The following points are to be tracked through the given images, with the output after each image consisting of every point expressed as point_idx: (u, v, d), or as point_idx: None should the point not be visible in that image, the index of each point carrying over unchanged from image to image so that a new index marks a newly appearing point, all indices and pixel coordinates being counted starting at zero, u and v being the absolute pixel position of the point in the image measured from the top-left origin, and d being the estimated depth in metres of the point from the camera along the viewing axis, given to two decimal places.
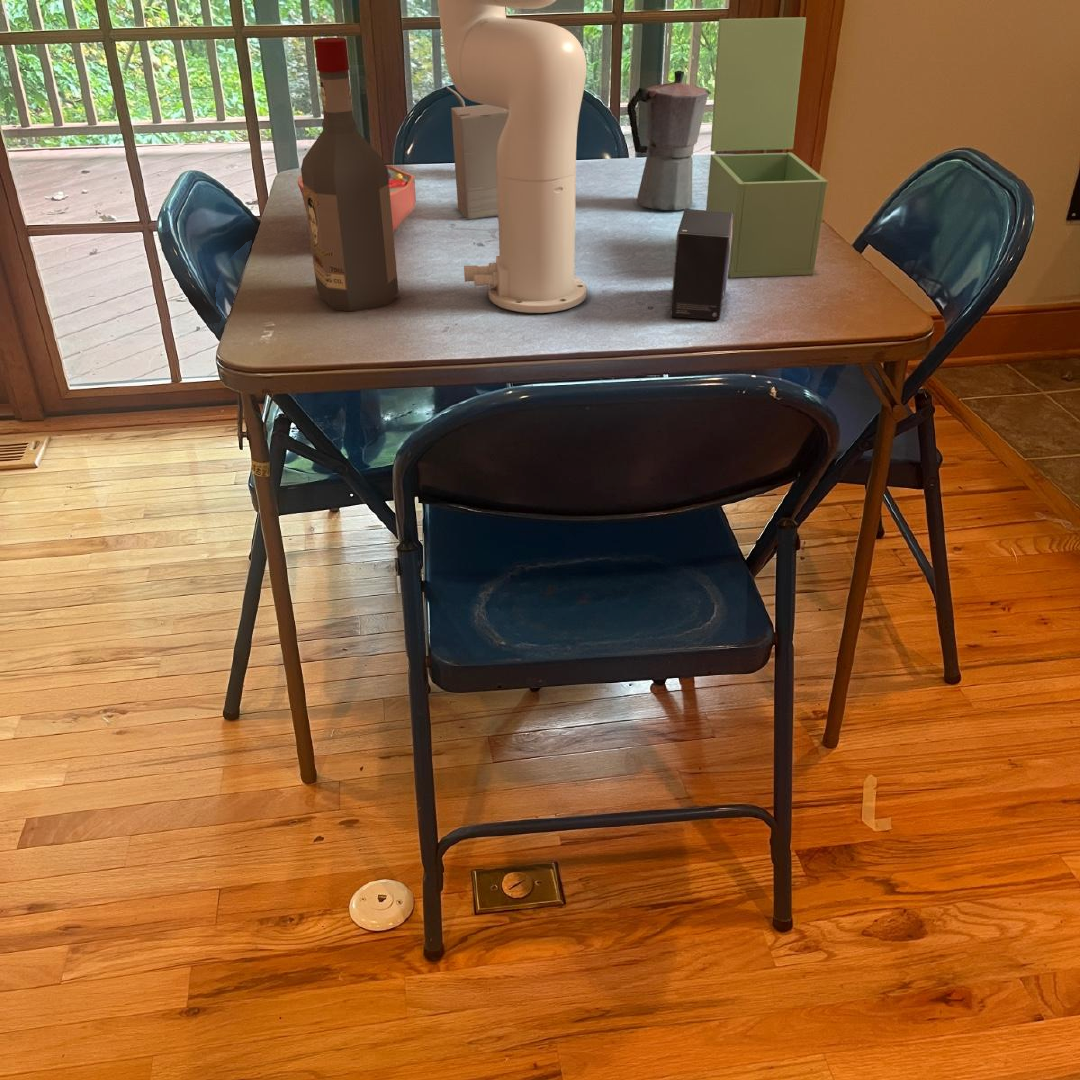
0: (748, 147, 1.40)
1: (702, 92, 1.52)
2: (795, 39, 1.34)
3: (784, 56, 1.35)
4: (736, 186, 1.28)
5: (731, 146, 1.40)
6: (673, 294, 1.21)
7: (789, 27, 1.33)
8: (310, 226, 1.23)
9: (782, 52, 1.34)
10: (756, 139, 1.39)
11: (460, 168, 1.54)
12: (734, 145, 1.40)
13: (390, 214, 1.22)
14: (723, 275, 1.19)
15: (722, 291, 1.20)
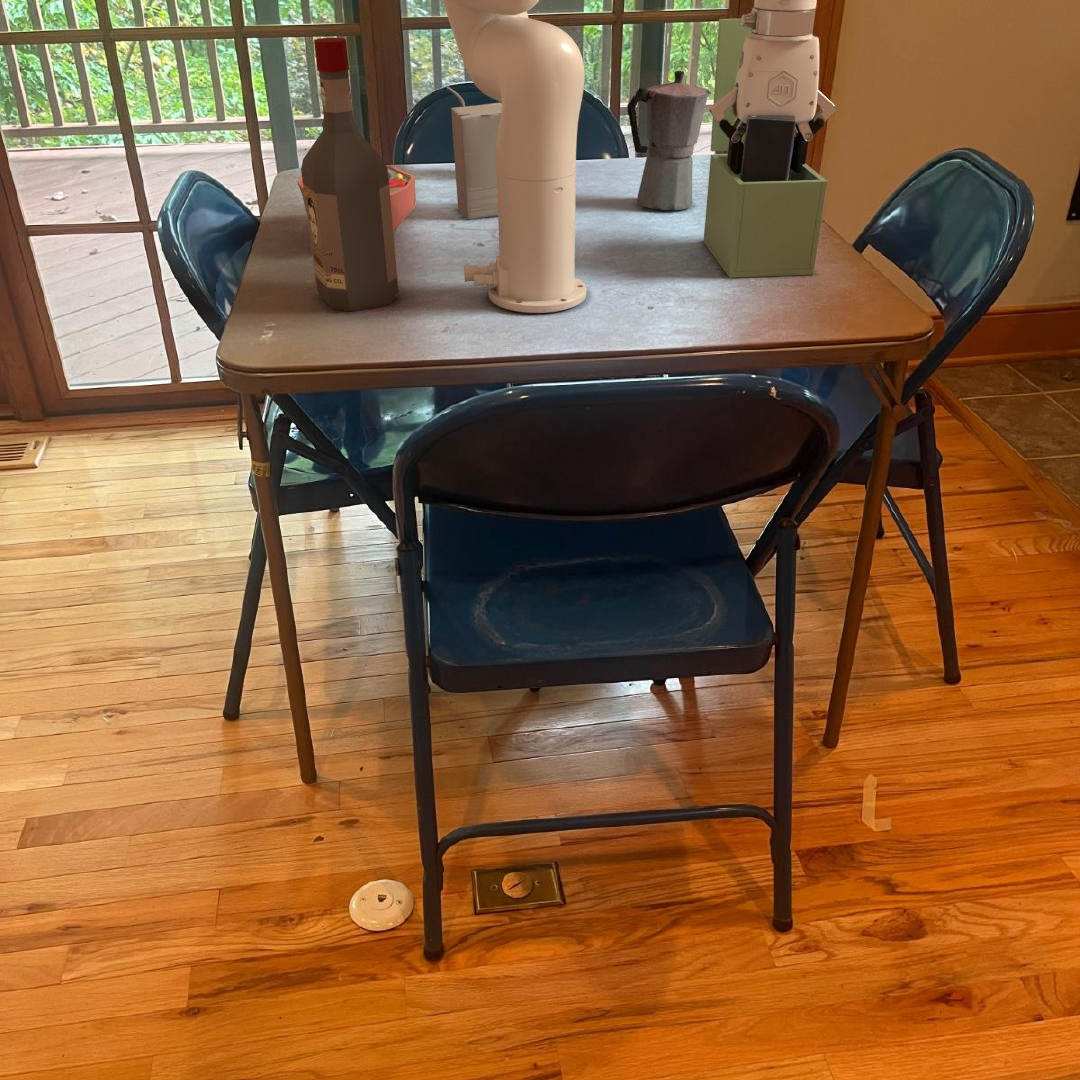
0: None
1: (702, 92, 1.52)
2: None
3: None
4: (736, 186, 1.28)
5: None
6: (741, 178, 1.31)
7: None
8: (310, 226, 1.23)
9: None
10: None
11: (460, 168, 1.54)
12: None
13: (390, 214, 1.22)
14: (788, 159, 1.28)
15: (787, 174, 1.30)
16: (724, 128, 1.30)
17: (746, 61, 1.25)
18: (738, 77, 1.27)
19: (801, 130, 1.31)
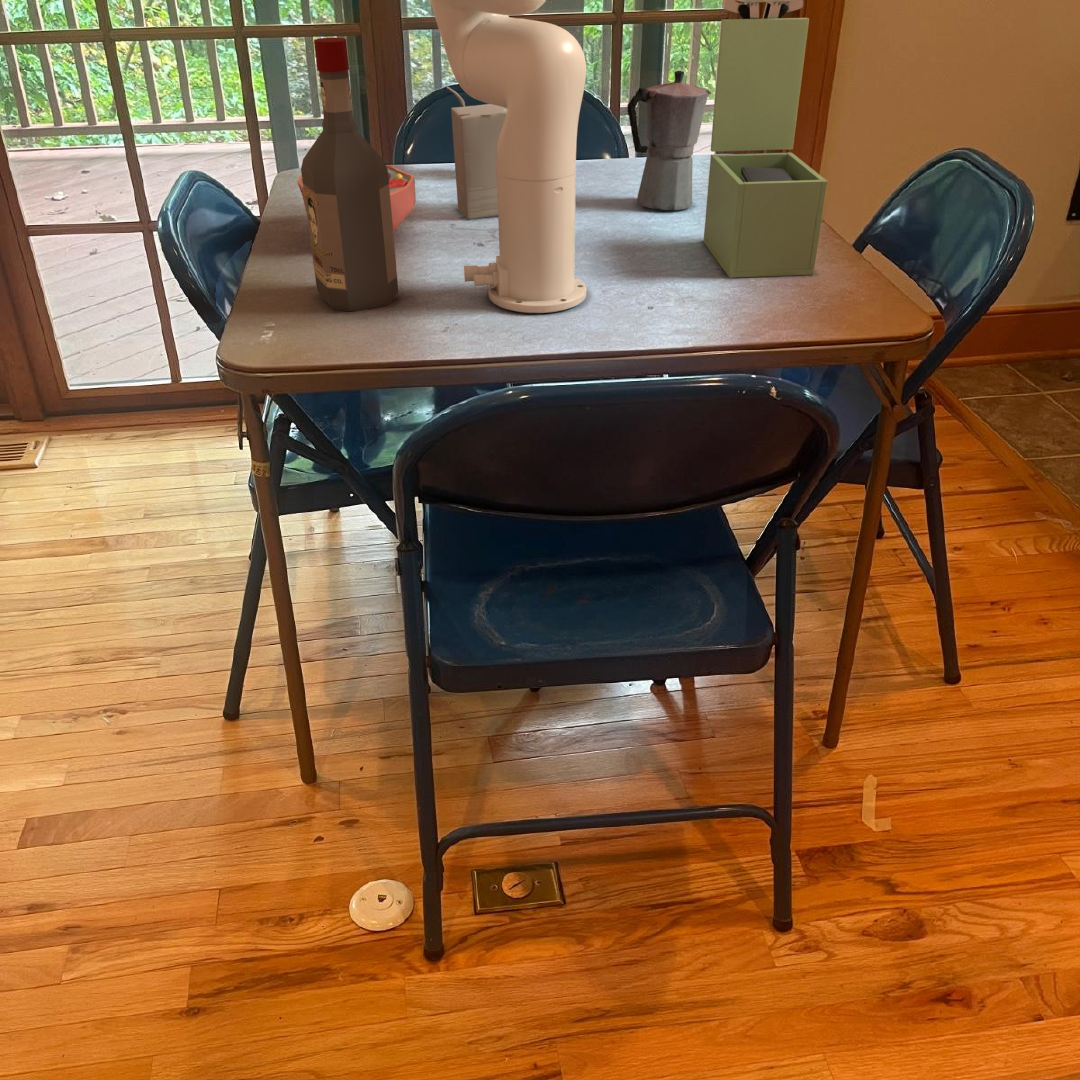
0: (748, 147, 1.40)
1: (702, 92, 1.52)
2: (797, 40, 1.33)
3: (786, 57, 1.34)
4: (736, 186, 1.28)
5: (731, 146, 1.40)
6: None
7: (792, 28, 1.32)
8: (310, 226, 1.23)
9: (784, 53, 1.33)
10: (756, 139, 1.39)
11: (460, 168, 1.54)
12: (734, 145, 1.39)
13: (390, 214, 1.22)
14: None
15: None
16: (743, 13, 1.32)
17: None
18: None
19: (771, 12, 1.32)
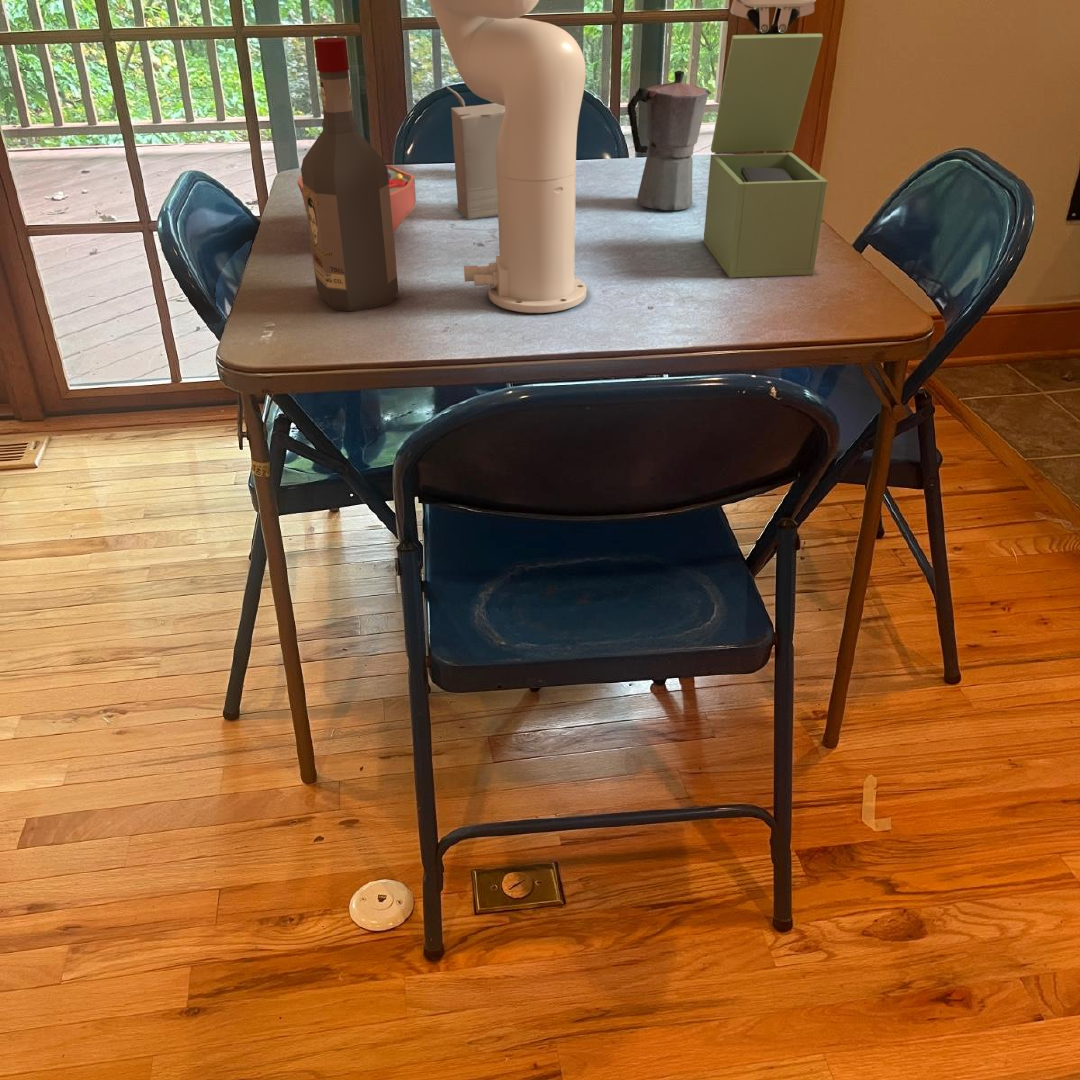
0: (748, 149, 1.40)
1: (702, 92, 1.52)
2: (809, 56, 1.29)
3: (795, 71, 1.31)
4: (736, 186, 1.28)
5: (731, 148, 1.39)
6: None
7: (804, 45, 1.28)
8: (310, 226, 1.23)
9: (793, 67, 1.30)
10: (757, 142, 1.39)
11: (460, 168, 1.54)
12: (734, 147, 1.39)
13: (390, 214, 1.22)
14: None
15: None
16: (752, 18, 1.28)
17: None
18: None
19: (781, 17, 1.28)
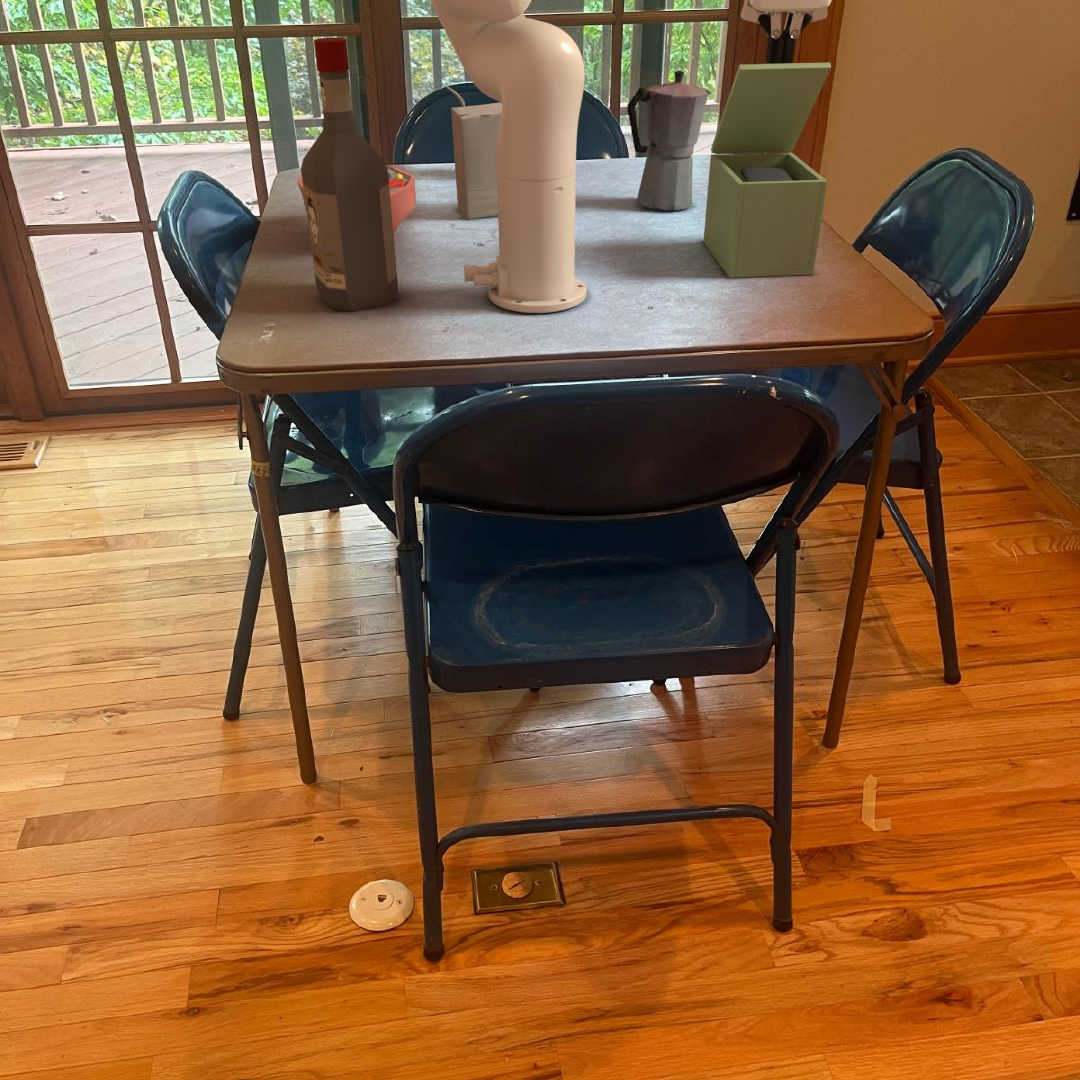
0: (748, 150, 1.40)
1: (702, 92, 1.52)
2: (815, 82, 1.27)
3: (800, 93, 1.29)
4: (736, 186, 1.28)
5: (731, 150, 1.40)
6: None
7: (811, 74, 1.26)
8: (310, 226, 1.23)
9: (799, 90, 1.29)
10: (757, 145, 1.39)
11: (460, 168, 1.54)
12: (734, 149, 1.39)
13: (390, 214, 1.22)
14: None
15: None
16: (763, 23, 1.24)
17: None
18: None
19: (793, 22, 1.23)
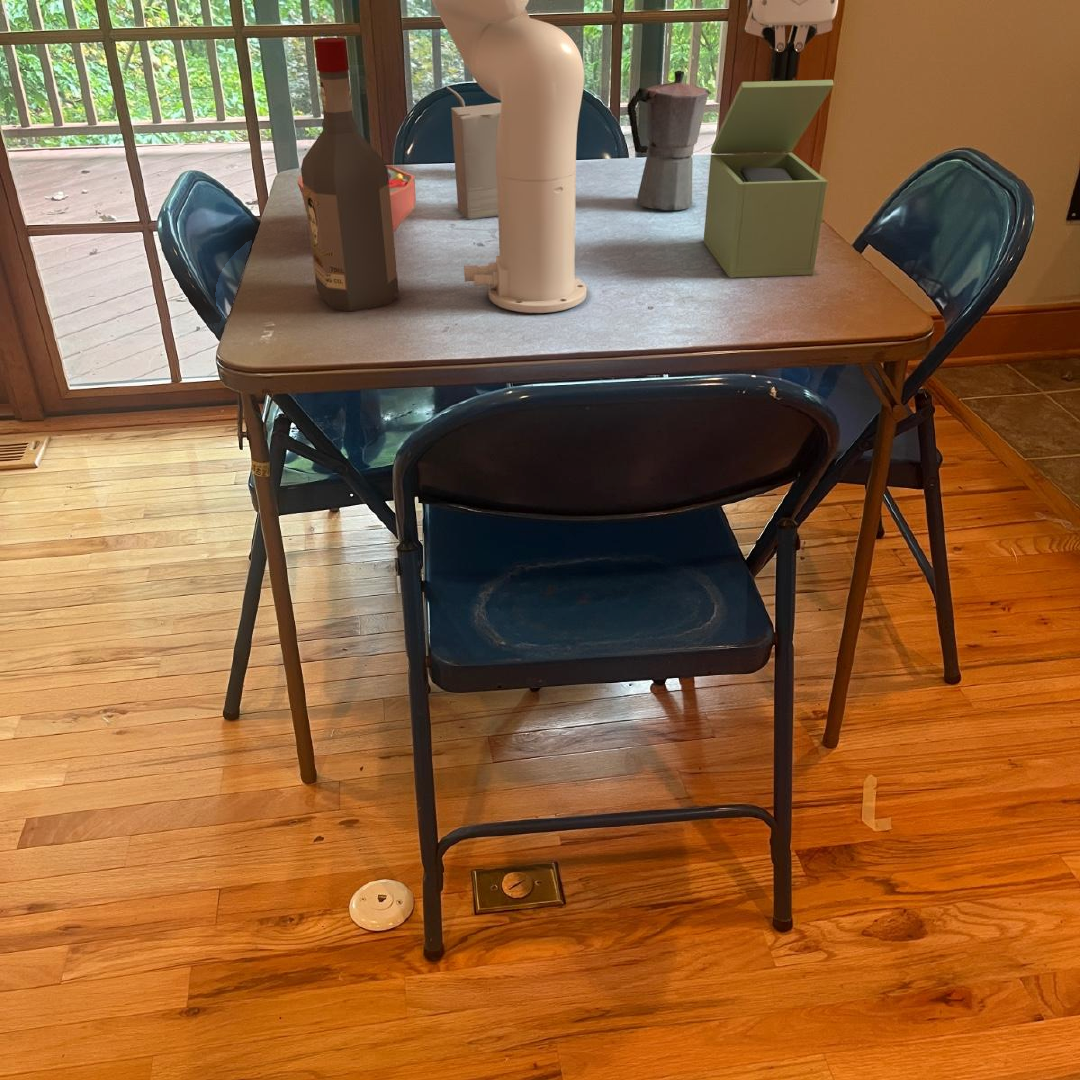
0: (748, 151, 1.40)
1: (702, 92, 1.52)
2: (817, 97, 1.27)
3: (802, 106, 1.29)
4: (736, 186, 1.28)
5: (731, 151, 1.40)
6: None
7: (813, 91, 1.25)
8: (310, 226, 1.23)
9: (800, 103, 1.28)
10: (757, 147, 1.39)
11: (460, 168, 1.54)
12: (734, 150, 1.39)
13: (390, 214, 1.22)
14: None
15: None
16: (767, 36, 1.23)
17: None
18: None
19: (798, 35, 1.22)
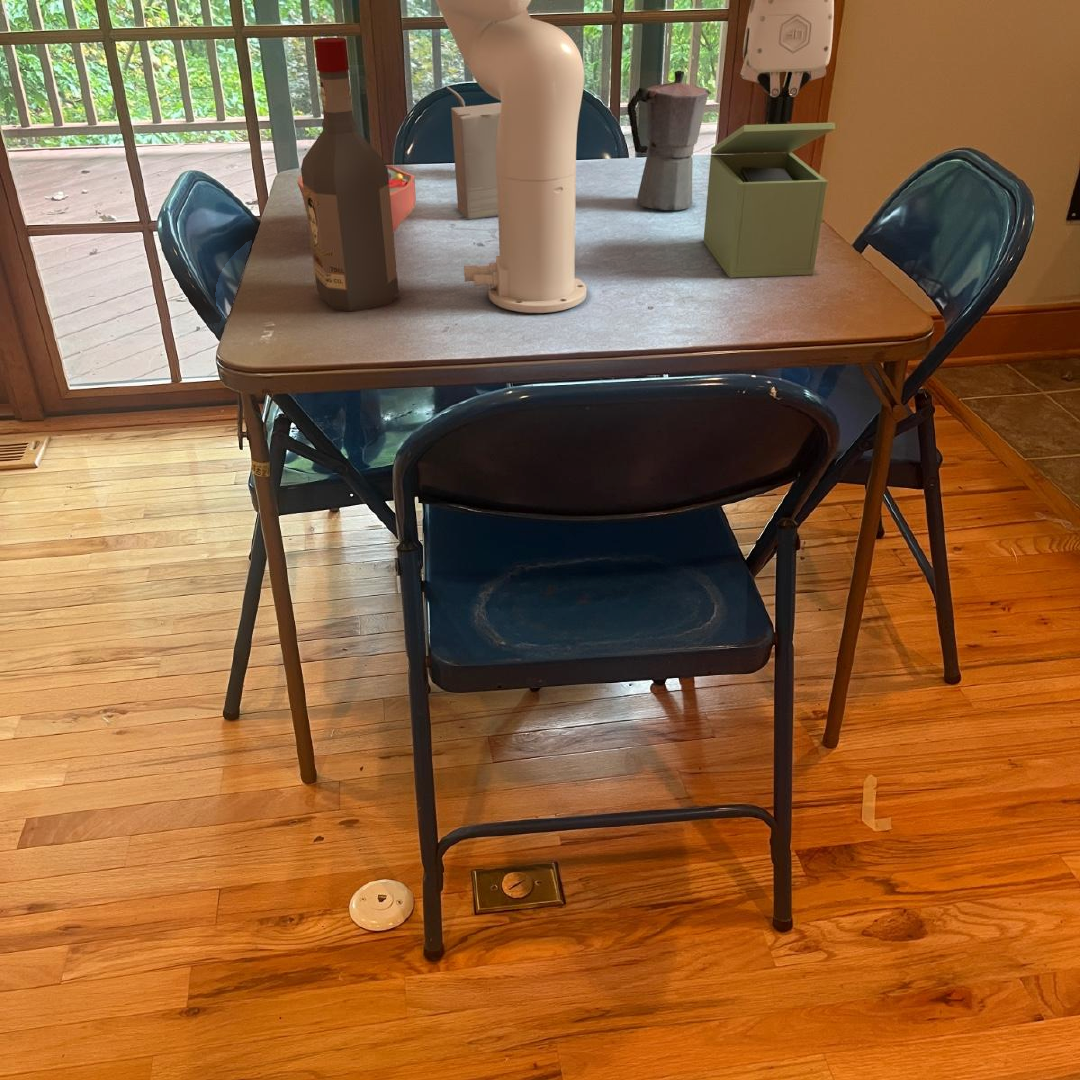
0: (748, 152, 1.40)
1: (702, 92, 1.52)
2: (818, 133, 1.27)
3: (803, 136, 1.29)
4: (736, 186, 1.28)
5: (731, 152, 1.40)
6: None
7: (814, 131, 1.26)
8: (310, 226, 1.23)
9: (801, 136, 1.29)
10: (757, 151, 1.39)
11: (460, 168, 1.54)
12: (734, 152, 1.40)
13: (390, 214, 1.22)
14: None
15: None
16: (763, 82, 1.26)
17: (757, 4, 1.20)
18: (749, 22, 1.22)
19: (792, 81, 1.25)
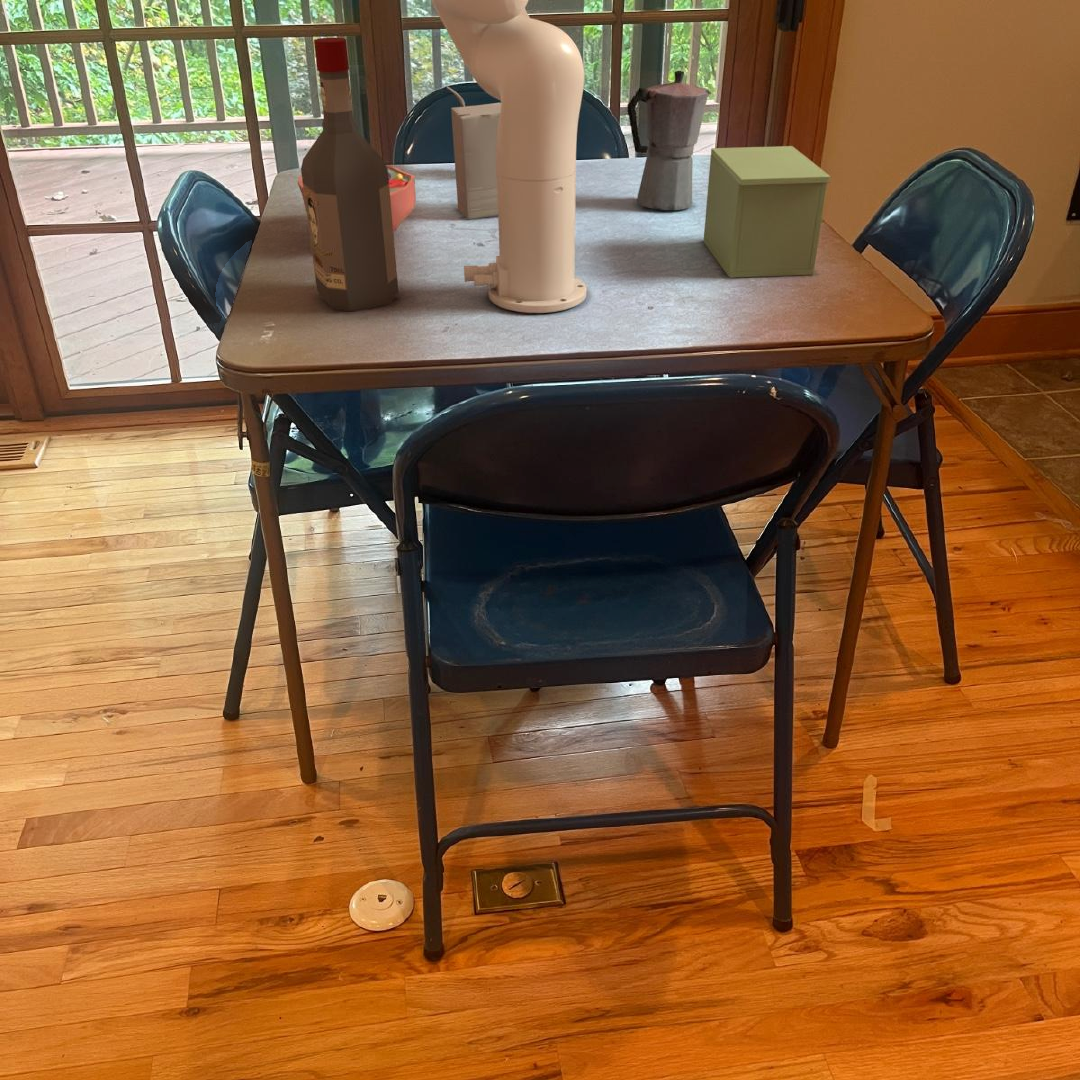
0: None
1: (702, 92, 1.52)
2: None
3: None
4: (736, 186, 1.28)
5: None
6: None
7: None
8: (310, 226, 1.23)
9: None
10: None
11: (460, 168, 1.54)
12: None
13: (390, 214, 1.22)
14: None
15: None
16: None
17: None
18: None
19: None
